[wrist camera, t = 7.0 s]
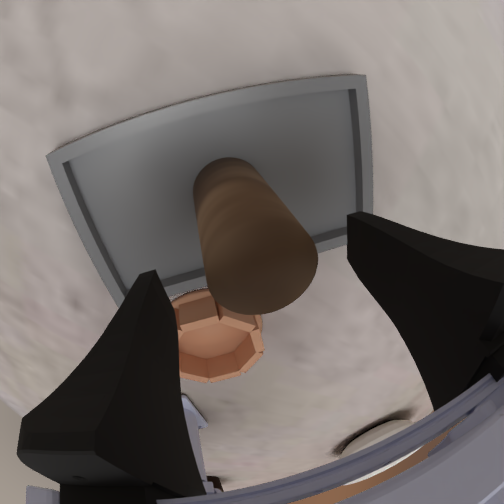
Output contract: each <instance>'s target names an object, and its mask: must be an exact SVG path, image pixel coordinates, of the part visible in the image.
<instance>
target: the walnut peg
mask: <svg viewBox="0 0 504 504" xmlns="http://www.w3.org/2000/svg"><path fill="white" fill-rule="evenodd" d="M193 199H194V206H195V213H196V219H197V226H198V233H199V239H200V245H201V252H202V258H203V264H204V270H205V276H206V281H207V286H208V289H209V291H210V293H211V295H212V297H213V298H214V299H215V300H216V302H218V303H219V304H220V305H221V306H223V307H224V308H226V309H228V310H230V311H232V312H235V313H239V314H244V315H260V314H266V313H270V312H274V311H277V310H279V309H281V308H283V307H285V306H287V305H289V304H290V303H292V302H293V301H295V300H296V299H297V298H298V297H300V296H301V295H302V294H303V293H304V291H305V290H306V289H307V288H308V286H309V285H310V283H311V282H312V280H313V278H314V276H315V273H316V269H317V265H318V254H317V249H316V246H315V243H314V241H313V240H312V238H311V237H310V235H309V234H308V233H307V231H306V230H305V229H304V228H303V226H302V225H301V224H300V223H299V221H298V220H297V219H296V218H295V216H294V215H293V214H292V213H291V211H290V210H289V209H288V208H287V207H286V205H285V204H284V203H283V202H282V200H281V199H280V198H279V197H278V195H277V194H276V193H275V192H274V191H273V189H272V188H271V187H270V186H269V185H268V183H267V182H266V181H265V180H264V179H263V177H262V176H261V175H260V174H259V173H258V172H257V170H256V169H255V168H254V167H253V166H252V165H251V164H249V163H248V162H246V161H244V160H242V159H239V158H233V157H226V158H220V159H217V160H214V161H212V162H211V163H209V164H207V165H206V166H205V167H204V168H203V169H202V170H201V171H200V172H199V174H198V175H197V177H196V179H195V182H194V186H193Z"/></svg>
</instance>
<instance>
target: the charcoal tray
mask: <svg viewBox="0 0 504 504" xmlns="http://www.w3.org/2000/svg"><path fill="white" fill-rule="evenodd" d="M226 157H233V158H239V159H242V160H244V161H246V162H248V163H249V164H251V165H252V166H253V167H254V168H255V169H256V170H257V172H258V173H259V174H260V175H261V176H262V177H263V179H264V180H265V181H266V182H267V183H268V185H269V186H270V187H271V188H272V189H273V191H274V192H275V193H276V194H277V195H278V197H279V198H280V199H281V200H282V202H283V203H284V204H285V205H286V207H287V208H288V209H289V210H290V211H291V213H292V214H293V215H294V216H295V218H296V219H297V220H298V221H299V223H300V224H301V225H302V226H303V228H304V229H305V230H306V231H307V233H308V234H309V235H310V237H311V238H312V240H313V241H314V243H315V246H316V249H317V253H320V252H324V251H327V250H330V249H334V248H337V247H340V246H343V245H347V215H348V214H351V213H355V212H359V211H362V212H366V213H370V214H373V163H372V139H371V123H370V110H369V99H368V90H367V81H366V75H359V74H346V75H332V76H320V77H310V78H301V79H293V80H285V81H278V82H272V83H265V84H260V85H254V86H248V87H243V88H238V89H233V90H228V91H224V92H219V93H215V94H211V95H207V96H203V97H199V98H195V99H191V100H187V101H183V102H180V103H176V104H173V105H169V106H166V107H163V108H160V109H156V110H153V111H150V112H147V113H144V114H141V115H138V116H135V117H132V118H129V119H127V120H124V121H121V122H118V123H116V124H113V125H111V126H108V127H105V128H103V129H100V130H98V131H95V132H93V133H91V134H88V135H86V136H84V137H81V138H79V139H77V140H74V141H72V142H70V143H68V144H66V145H63V146H61V147H59V148H57V149H55V150H54V151H52V152H51V153H49V154H47V155H46V158H47V161H48V164H49V166H50V169H51V172H52V174H53V177H54V179H55V182H56V184H57V187H58V189H59V192H60V194H61V196H62V199H63V201H64V204H65V206H66V208H67V210H68V213H69V215H70V217H71V219H72V221H73V224H74V226H75V228H76V230H77V232H78V234H79V236H80V238H81V240H82V242H83V244H84V246H85V248H86V250H87V252H88V254H89V256H90V258H91V260H92V262H93V264H94V266H95V268H96V269H97V271H98V273H99V275H100V277H101V279H102V280H103V282H104V284H105V286H106V287H107V289H108V291H109V293H110V294H111V296H112V298H113V299H114V301H115V303H116V304H117V306H118V308H119V307H120V306H121V304H122V302H123V301H124V299H125V297H126V296H127V294H128V292H129V290H130V289H131V287H132V285H133V284H134V282H135V280H136V279H137V277H138V276H139V274H141V273H144V272H148V271H151V270H154V269H156V272H157V274H158V276H159V278H160V281H161V283H162V285H163V287H164V289H165V291H166V293H167V296H168V297H169V296H172V295H176V294H180V293H183V292H187V291H190V290H194V289H197V288H201V287H205V286H207V281H206V276H205V270H204V264H203V258H202V252H201V245H200V239H199V233H198V226H197V219H196V213H195V206H194V199H193V186H194V182H195V179H196V177H197V175H198V174H199V172H200V171H201V170H202V169H203V168H204V167H205V166H206V165H207V164H209V163H211V162H212V161H214V160H217V159H220V158H226Z"/></svg>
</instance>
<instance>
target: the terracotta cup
mask: <svg viewBox="0 0 504 504" xmlns="http://www.w3.org/2000/svg"><path fill="white" fill-rule="evenodd" d="M171 304H172V306H173V308H174V310H175V316H176V322H177V329H178V340H179V370H180V377H181V378H185V379H190V380H194V381H199V382H203V383H206V382H207V381H208V380H210V382H211V383H213V382H217V381H221V380H225V379H229V378H232V377H236V376H240V375H241V372H244V373H246V372H247V371H248V370H249V369H250V368H251V367H252V366H253V364H254V363H255V362H256V361H257V360H258V359H259V358H260V357H261V356H262V355H263V351H264V350H265V349H264V345H263V342H262V338H261V331H262V318H261V315H244V314H239V313H235V312H232V311H230V310H228V309H226V308H224V307H223V306H221V305H220V304H219V303H218V302H216V300H215V299H214V298H213V297H212V295H211V293H210V291H209V289H201V290H197V291H192V292H189V293H187V294H184V295H182V296H180V297H178V298H177V299H175V300H173V301H172V302H171Z"/></svg>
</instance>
